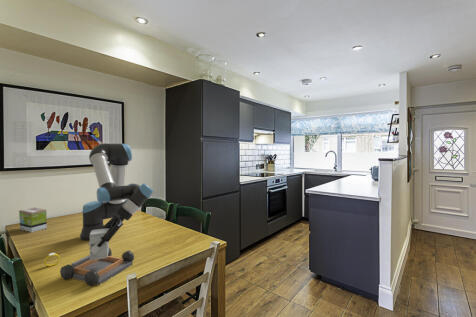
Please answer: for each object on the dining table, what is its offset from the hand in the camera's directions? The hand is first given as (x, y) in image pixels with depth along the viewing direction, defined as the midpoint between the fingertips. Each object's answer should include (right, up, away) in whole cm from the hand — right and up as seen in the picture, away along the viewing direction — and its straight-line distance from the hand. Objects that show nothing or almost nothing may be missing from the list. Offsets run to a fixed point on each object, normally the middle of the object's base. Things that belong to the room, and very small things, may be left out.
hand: (91, 248), depth 109 cm
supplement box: (+3, -5, +2) cm, 6 cm away
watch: (-24, -12, +7) cm, 28 cm away
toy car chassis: (+2, -11, +3) cm, 12 cm away
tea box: (-81, -10, +60) cm, 102 cm away
